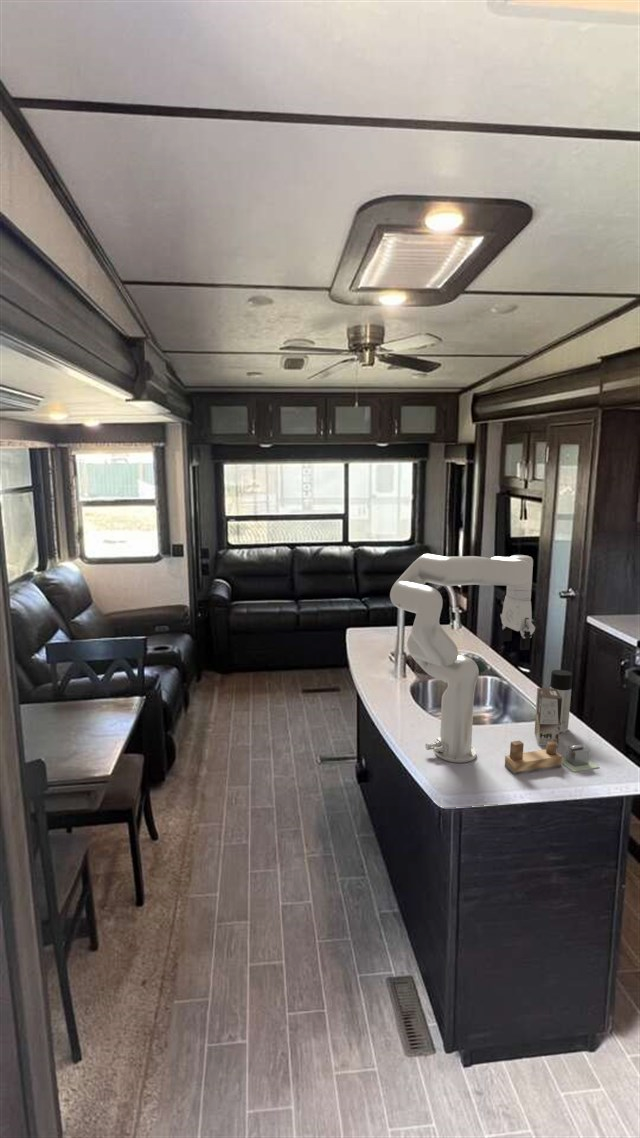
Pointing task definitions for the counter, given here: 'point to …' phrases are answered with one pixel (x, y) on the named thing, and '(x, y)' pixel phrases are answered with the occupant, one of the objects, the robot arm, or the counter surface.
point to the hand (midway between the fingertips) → (515, 645)
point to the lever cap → (577, 755)
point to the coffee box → (547, 716)
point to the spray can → (563, 694)
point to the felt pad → (579, 768)
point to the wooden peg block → (532, 758)
